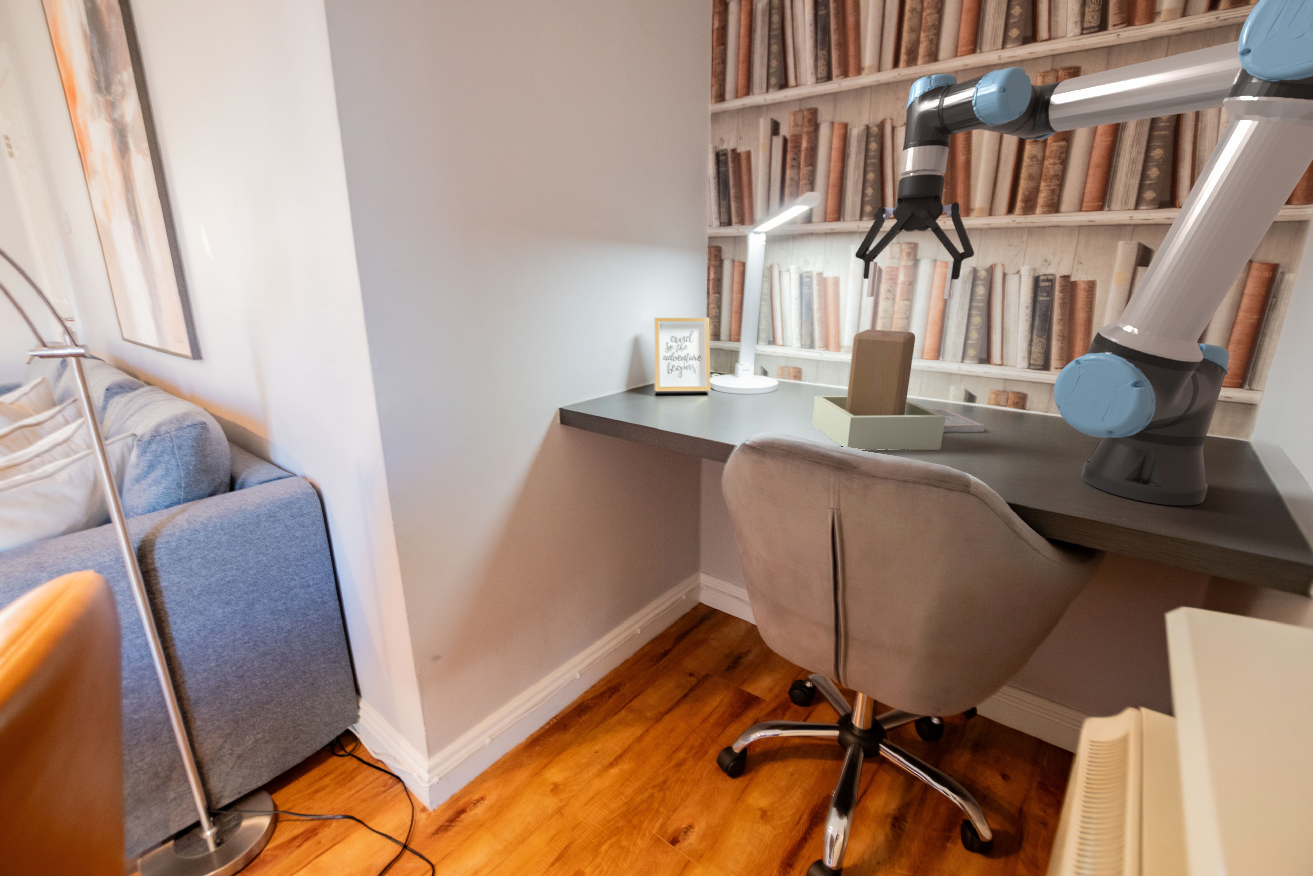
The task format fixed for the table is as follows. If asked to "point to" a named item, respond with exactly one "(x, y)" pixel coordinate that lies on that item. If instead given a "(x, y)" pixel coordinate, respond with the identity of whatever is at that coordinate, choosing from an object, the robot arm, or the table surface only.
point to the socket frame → (963, 422)
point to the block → (880, 373)
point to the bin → (878, 426)
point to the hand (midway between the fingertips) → (907, 297)
